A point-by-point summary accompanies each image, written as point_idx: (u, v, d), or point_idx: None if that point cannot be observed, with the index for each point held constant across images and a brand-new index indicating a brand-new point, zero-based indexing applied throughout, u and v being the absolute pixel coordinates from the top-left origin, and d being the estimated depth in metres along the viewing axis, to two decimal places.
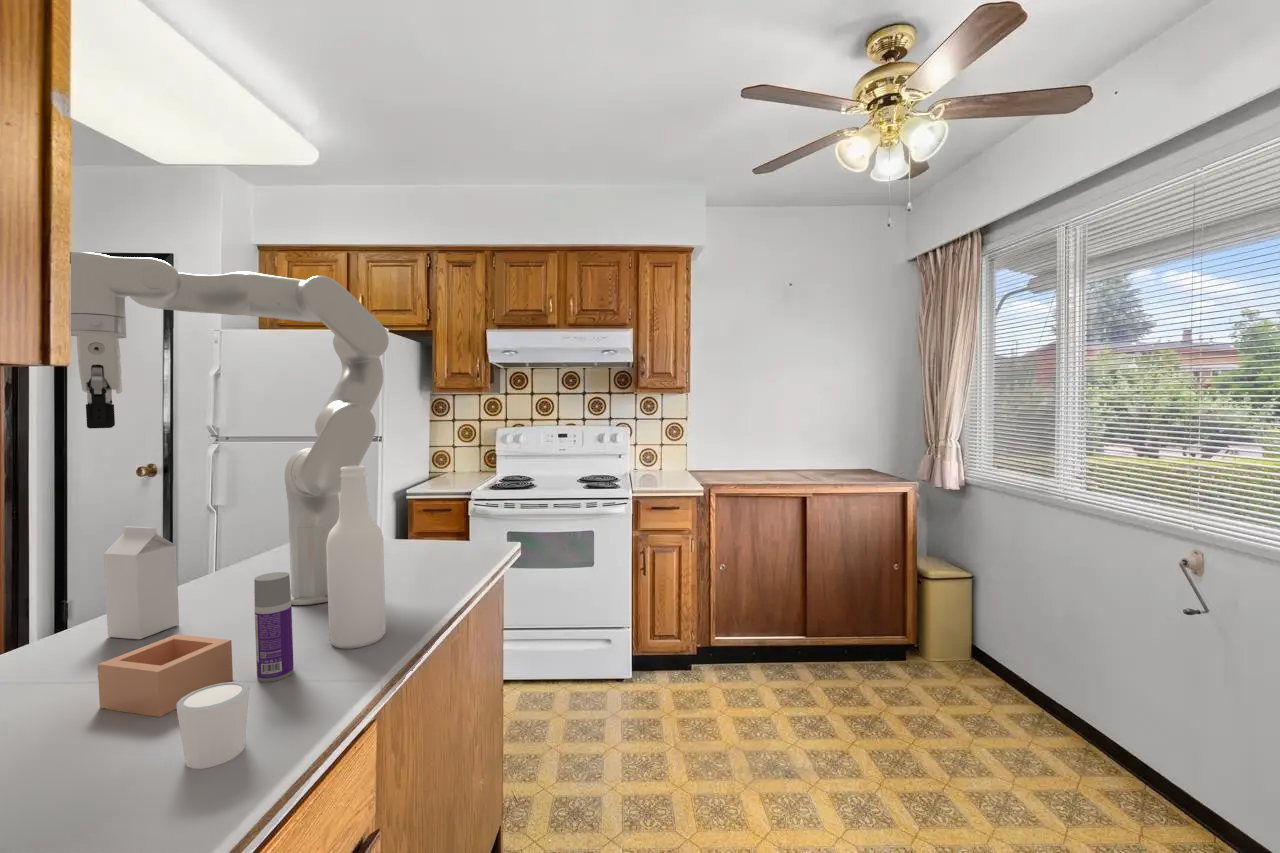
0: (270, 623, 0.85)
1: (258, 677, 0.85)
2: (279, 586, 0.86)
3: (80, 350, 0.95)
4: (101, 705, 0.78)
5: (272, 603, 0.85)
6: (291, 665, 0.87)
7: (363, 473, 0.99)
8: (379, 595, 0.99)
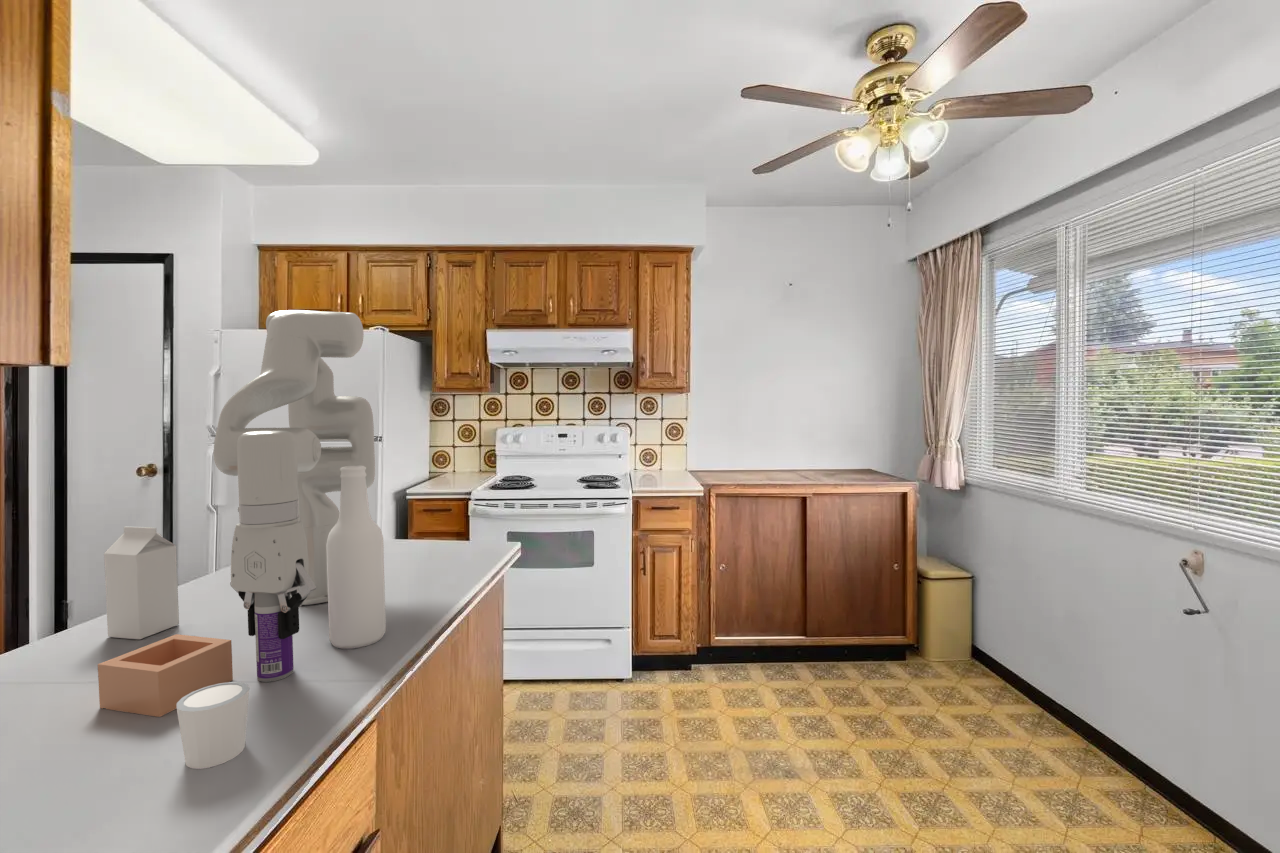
0: (270, 623, 0.85)
1: (258, 677, 0.85)
2: None
3: None
4: (101, 705, 0.78)
5: (273, 603, 0.85)
6: (291, 665, 0.87)
7: (363, 473, 0.99)
8: (379, 595, 0.99)
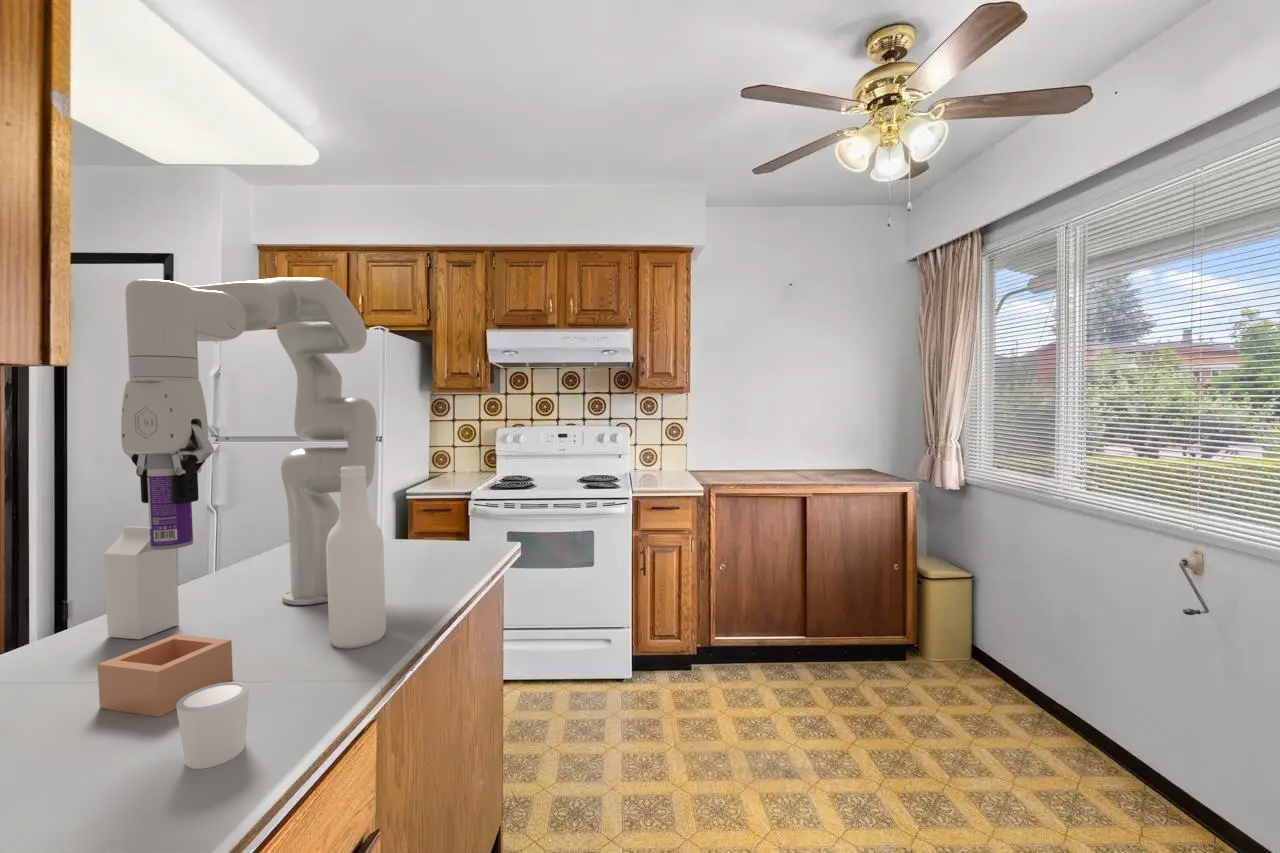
0: (164, 486, 0.79)
1: (151, 545, 0.80)
2: None
3: None
4: (101, 705, 0.78)
5: (166, 465, 0.79)
6: (189, 536, 0.82)
7: (363, 473, 0.99)
8: (379, 595, 0.99)
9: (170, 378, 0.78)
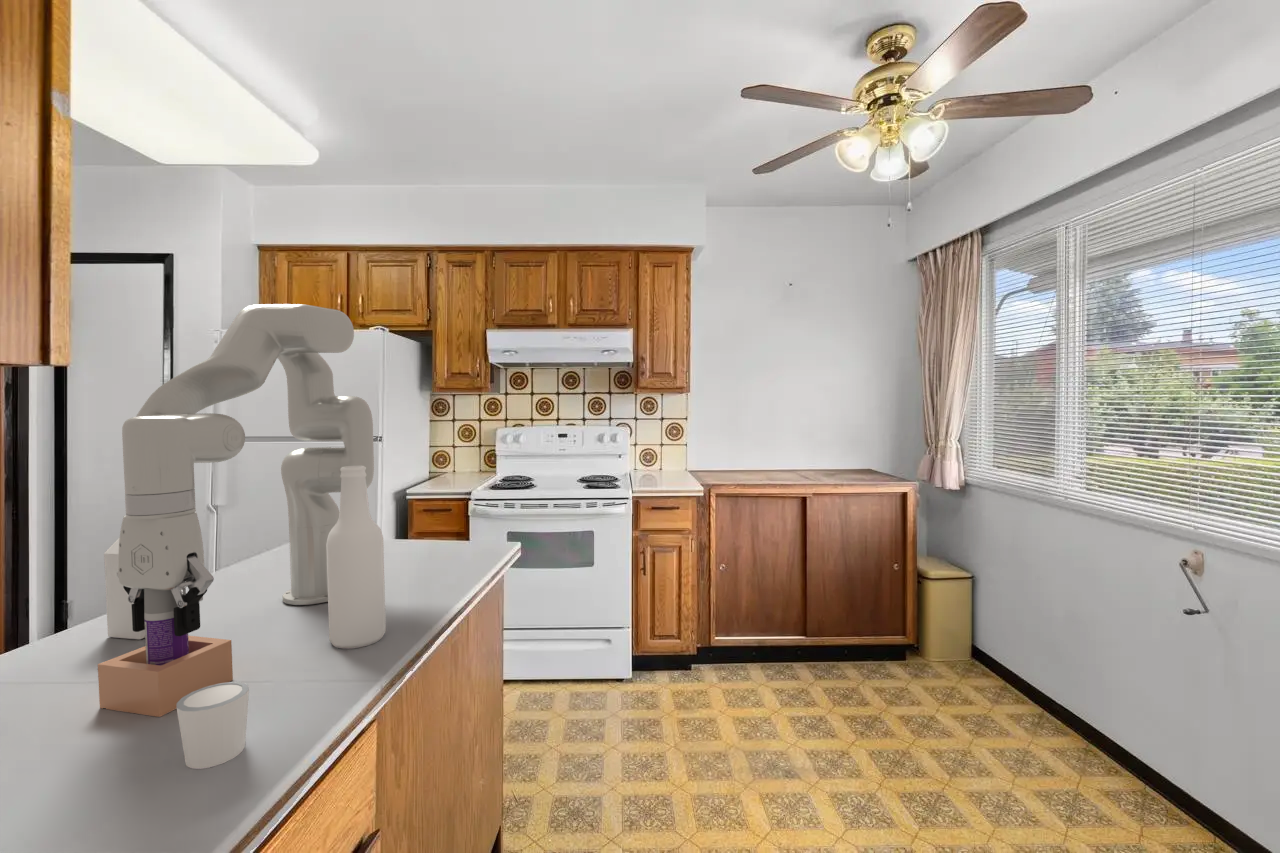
0: (161, 630, 0.80)
1: None
2: (171, 591, 0.80)
3: None
4: (101, 705, 0.78)
5: (163, 609, 0.80)
6: None
7: (363, 473, 0.99)
8: (379, 595, 0.99)
9: (166, 515, 0.78)
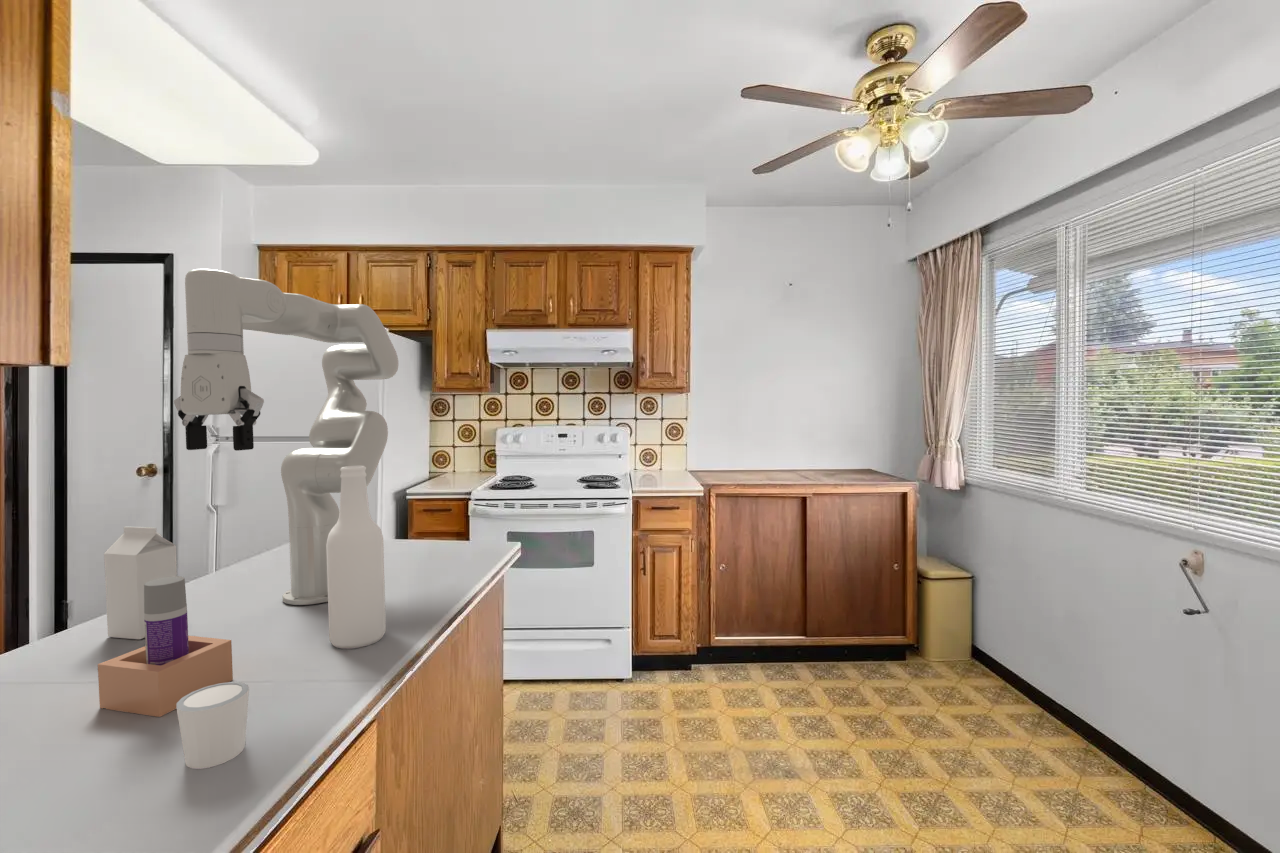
0: (160, 631, 0.80)
1: None
2: (171, 591, 0.80)
3: None
4: (101, 705, 0.78)
5: (163, 609, 0.80)
6: None
7: (363, 473, 0.99)
8: (379, 595, 0.99)
9: (221, 351, 0.94)
